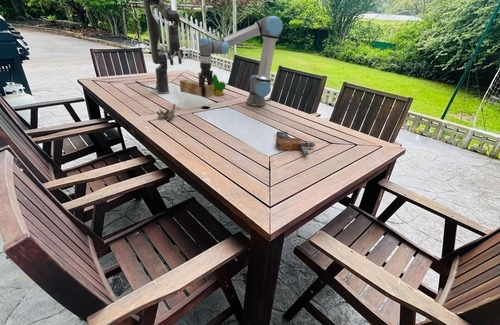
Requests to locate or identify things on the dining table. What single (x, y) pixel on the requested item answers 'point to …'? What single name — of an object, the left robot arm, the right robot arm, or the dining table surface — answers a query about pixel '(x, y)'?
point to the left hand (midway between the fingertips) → (176, 64)
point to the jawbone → (166, 113)
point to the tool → (291, 143)
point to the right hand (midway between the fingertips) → (206, 95)
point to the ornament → (218, 86)
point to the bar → (195, 88)
